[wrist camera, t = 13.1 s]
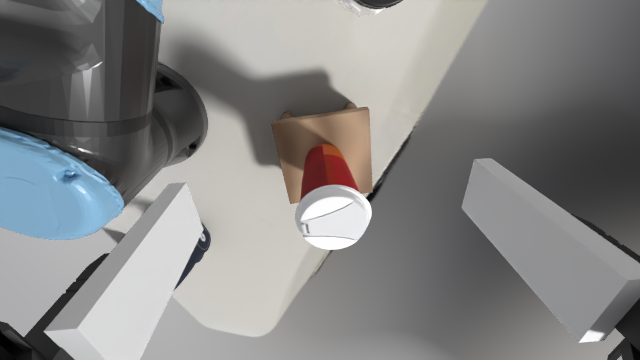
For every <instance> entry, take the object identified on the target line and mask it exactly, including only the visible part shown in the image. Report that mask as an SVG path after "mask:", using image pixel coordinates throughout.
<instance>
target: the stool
mask: <svg viewBox="0 0 640 360" xmlns="http://www.w3.org/2000/svg"><path fill="white" fill-rule="evenodd" d="M271 125H272V130H273V134H274V138H275V142H276V146H277V151H278V155H279V159H280V163H281V167H282V172H283V176H284V180H285V184H286V188H287V193H288V197H289V201H290V204H292V203H299V202H300V197H301V185H302V178H303V172H304V164H305V159H306V156H307V154H308V152H309V151H310V150H311V149H312V148H313V147H315V146H317V145H320V144H330V145H333V146H335V147H336V148H338V149H339V150H340V151H341V153H342V155H343V156H344V158H345V161H346V163H347V165H348V167H349V169H350V171H351V174H352V176H353V178H354V180H355V183H356V185H357V187H358V189H359V192H360V193H361V194H362V193H369V192H372V167H371V143H370V118H369V109H368V108H367V107H361V108H357V107H356V105H355V104H354V103H348V104H346V106H345V110H341V111H335V112H328V113H321V114H315V115H308V116H301V117H295V118H293V115H292V114H291V113H289V112H285V113H284V114H283V115H282V118H281V120H275V121H272V124H271Z"/></svg>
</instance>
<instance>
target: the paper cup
mask: <svg viewBox="0 0 640 360" xmlns="http://www.w3.org/2000/svg"><path fill="white" fill-rule="evenodd" d="M370 218H371V206H370V203H369V202H368V201H367V199H366V198H365V197H364V196H363V195H362V194H361V193H360V192H359V189H358V187H357V185H356V183H355V180H354V178H353V176H352V174H351V171H350V169H349V167H348V165H347V163H346V161H345V158H344V156H343V155H342V153H341V151H340V150H339V149H338V148H336V147H335V146H333V145H330V144H320V145H317V146H315V147H313V148H312V149H311V150H310V151H309V152H308V154H307V156H306V159H305V164H304V172H303V178H302V185H301V197H300V203H299V204H298V206H297V209H296V214H295V219H296V224H297V227H298V229H299V230H300V232H301V233H302V234H303V237H304V238H305V239H306V240H307V241H308V242H309V243H311V244H312V245H314V246H316V247H319V248H322V249H329V250H334V249H341V248H345V247H347V246H350V245H352V244H354V243H355V242H357V241H358V239H359V238H360V237H361V236H362V235H363V233H364V232H365V229H366V228H367V226H368V224H369V221H370Z"/></svg>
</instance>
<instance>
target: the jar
mask: <svg viewBox="0 0 640 360" xmlns="http://www.w3.org/2000/svg"><path fill="white" fill-rule="evenodd" d="M334 1H335V2H337V3H338V4H340V5H342V6H343V7H345V8H346V9H348V10H349V11H351V12H353V13H354V14H356V15H357V16H359V17H360V16H367V15H373V14H377V13H378V12H380V11H381V10H383V9H384V8H388V7H391V6H394V5H396V4H398V3H399V2H401V1H402V0H334Z"/></svg>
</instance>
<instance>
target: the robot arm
mask: <svg viewBox="0 0 640 360" xmlns="http://www.w3.org/2000/svg"><path fill="white" fill-rule="evenodd" d="M161 23H163V24H164V16H163V15H162V0H0V227H2V228H5V229H7V230H10V231H13V232H16V233H19V234H23V235H27V236H31V237H36V238H42V239H49V240H70V239H77V238H81V237H84V236H86V235H90V234H93V233H94V232H96V231H98V230H99V229H101V228H102V227H103V226H105V225H106V224H107V223H108V222H110V221H111V220H112V219H114V218H115V217H117V216H118V215H119V214H120V213H122V211H123V208H124V207H125V206H126V205H127V204H128V203H129V202H130V201H131V200H132V199H133V198H134V197H135V196H136V195H137V194H138V193H139V192H140V191H141V190H142V189H143V188H144V187H145V186H146V185H147V184H148V183H149V181H150V180H151V179H152V178H153V177H154V176H155V175H156V174H157V173H158V172H159V171H160V170H161V169H162V168H164V167H167V166H170V165H174V164H177V163H180V162H182V161H184V160H186V159H188V158H189V157H191V156H192V155H193V154H194V153H195V152H196V151H197V150H198V149H199V147H200V146H201V145H202V143H203V142H204V140H205V137H206V134H207V130H208V118H207V113H206V109H205V106H204V104H203V102H202V100H201V98H200V96H199V95H198V93H197V92H196V90H195V89H194V88H193V87H192V86H191V84H190V83H189V82H188V81H187V80H185V79H184V78H183V77H182V76H181V75H179V74H178V73H176V72H175V71H173V70H171V69H170V68H168V67H165V66H163V65H160V64H157V63H158V53H159V43H160V33H161ZM462 209H463V210H464V211H465V212H466V214H467V215H468V216H469V217H470V218H471V219H472V221H473V222H474V223H475V224H476V225H477V226H478V228H479V229H480V230H481V231H482V232H483V233H484V234H485V235H486V237H487V238H488V239H489V240H490V241H491V243H492V244H493V245H494V246H495V247H496V248H497V249H498V250H499V252H500V253H501V254H502V255H503V256H504V257H505V259H506V260H507V261H508V262H509V263H510V264H511V266H512V267H513V268H514V269H515V270H516V271H517V272H518V274H519V275H520V276H521V277H522V278H523V279H524V280H525V282H526V283H527V284H528V285H529V286H530V287H531V289H532V290H533V291H534V292H535V293H536V294H537V296H538V297H539V298H540V299H541V300H542V301H543V302H544V304H545V305H546V306H547V307H548V308H549V309H550V310H551V312H552V313H553V314H554V315H555V316H556V317H557V319H558V320H559V321H560V322H561V323H562V324H563V325H564V326H565V328H566V329H567V330H568V331H569V332H570V334H571V335H572V336H573V337H574V338H575V339H576V340H577V342H579V343H581V342H592V341H602V340H605V339H606V337H607V336H608V335H609V334H610V333H611V332H612V331H613V330H614V328H616V329H617V330H618V331H619V332H620V333H621V334H622V335H623V336H624V337H625V338H624V339H623V341H621V343H620V344H619V345H618V346H617V347H616V348H615V349H614V350H613V351H612V352H611V353H610V354H609V355H608V359H607V360H617V359H618V358H619V357H620V356H622V359H623V360H640V256H639V255H637V254H636V253H635V252H633V251H632V250H630V249H629V248H627V247H626V246H624V245H620V243H619V242H618V241H617V240H615V239H614V238H613V237H611V236H607V235H606V233H605V232H604V231H602V230H601V229H599V228H598V227H597V226H595V225H594V224H592V223H591V222H589V221H586V220H584V219H582V218H580V217H577V216H575V215H573V214H569V213H568V212H566V211H565V210H563V209H562V208H561V207H559V206H558V205H556V204H555V203H554V202H552V201H551V200H549V199H548V198H546V197H545V196H543V195H542V194H541V193H539V192H538V191H537V190H535V189H534V188H532V187H531V186H529V185H528V184H527V183H525V182H524V181H522V180H521V179H520V178H518V177H517V176H515V175H514V174H513V173H511V172H510V171H508V170H507V169H505V168H504V167H503V166H501V165H500V164H498V163H497V162H496V161H494V160H493V159H491V158H487V159H475V160H474V163H473V167H472V170H471V174H470V178H469V182H468V185H467V190H466V193H465V197H464V201H463V204H462ZM203 230H204V229H203V226H202V224H201V221H200V218H199V215H198V213H197V210H196V207H195V205H194V202H193V199H192V197H191V194H190V191H189V189H188V186H187V183H186V182H185V183H172V184H168V186H167V187H166V188H165V189H164V190H163V191H162V193H161V194H160V195H159V196H158V197H157V199H156V200H155V201H154V202H153V203H152V204H151V206H150V207H149V208H148V209H147V210H146V211H145V213H144V214H143V215H142V216H141V217H140V219H139V220H138V221H137V222H136V223H135V224H134V226H133V227H132V228H131V229H130V230H129V231H128V233H127V234H126V235H125V236H124V237H123V239H122V240H121V241H120V242H119V243H118V244H117V246H116V247H115V248H114V249H113V250H112V251H111V253H107V254H103V255H102V256H101V257H99V258H98V259H97V260H95V261H94V262H93V263H91V264H90V265H89V266H88V267H87V268H86V269H85V270H84V271H83V272H82V273H81V274H80V276H79V277H78V278H77V279H76V282H73V283H72V284H71V285H70V287H69V288H68V289H67V290H66V293H65V294H63V295H62V296H61V297H60V298H59V299H58V300H57V301H56V302H55V303H54V305H53V306H52V307H51V308H50V309H49V310H48V311H47V312H46V313H45V315H44V316H43V317H42V318H41V319H40V320H39V321H38V322H37V323H36V325H35V326H34V327H33V328H32V329H31V330H30V331H29V332H28V333H27V335H26V336H25V337H22V336H21V335H20V334H19V333H18V332H17V331H16V330H14V329H13V328H12V327H11V326H10V325H9V324H8V323H4V322H0V360H140V358H141V356H142V354H143V352H144V350H145V348H146V346H147V344H148V342H149V340H150V338H151V335H152V334H153V332H154V330H155V327H156V325H157V323H158V321H159V319H160V317H161V315H162V313H163V311H164V309H165V307H166V305H167V303H168V301H169V299H170V297H171V295H172V293H173V291H174V289H175V287H176V285H177V283H178V281H179V279H180V277H181V274H182V272H183V270H184V268H185V266H186V264H187V262H188V260H189V258H190V256H191V254H192V252H193V250H194V248H195V246H196V244H197V242H198V240H199V238H200V236H201V234H202V232H203Z"/></svg>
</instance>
